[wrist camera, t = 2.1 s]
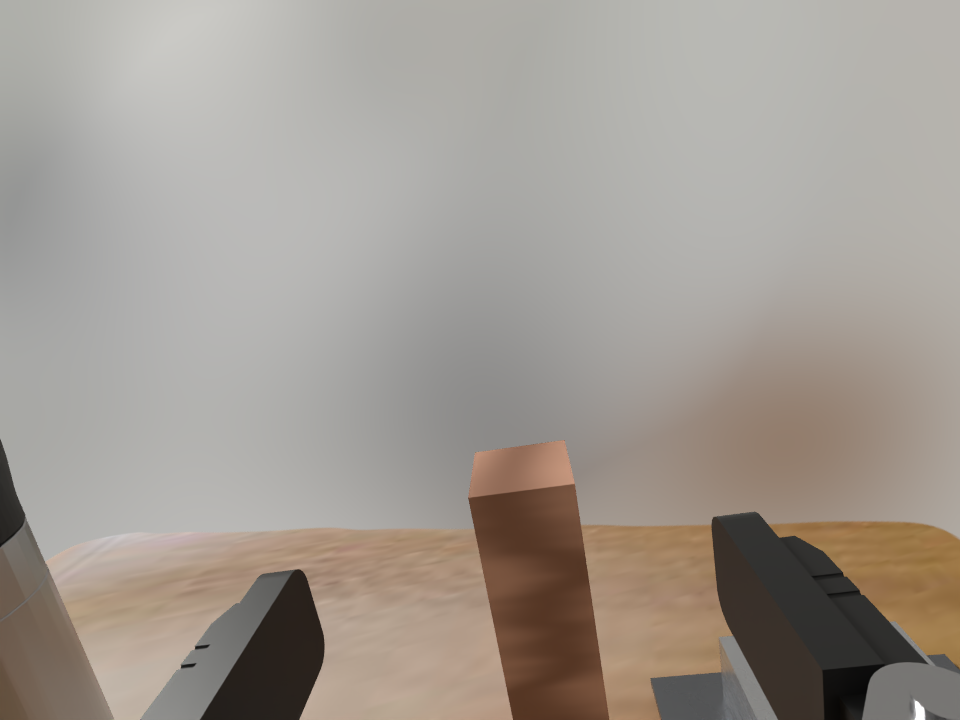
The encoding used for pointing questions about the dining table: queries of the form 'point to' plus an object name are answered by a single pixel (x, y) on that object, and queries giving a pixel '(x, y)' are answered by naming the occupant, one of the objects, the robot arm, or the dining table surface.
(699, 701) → the socket base
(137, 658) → the dining table surface
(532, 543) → the square peg
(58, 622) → the robot arm
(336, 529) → the dining table surface
